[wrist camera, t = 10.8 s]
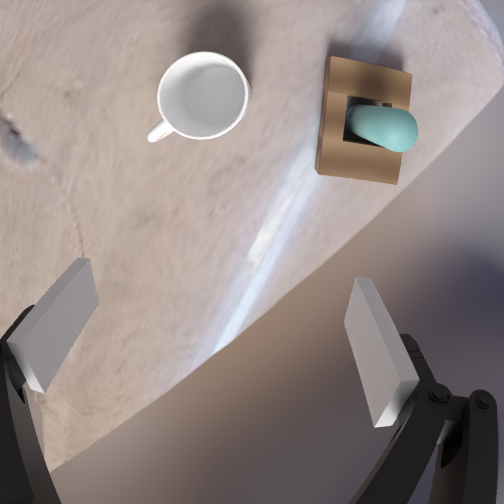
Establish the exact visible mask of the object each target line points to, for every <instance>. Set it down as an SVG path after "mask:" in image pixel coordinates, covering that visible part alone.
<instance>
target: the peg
mask: <svg viewBox="0 0 504 504" xmlns="http://www.w3.org/2000/svg"><path fill="white" fill-rule="evenodd" d="M345 124H346V126H347V128H348V130H349V131H350V132H352V133H353V134H355V135H357V136H360V137H362V138H365V139H367V140H369V141H371V142H374V143H376V144H378V145H380V146H383V147H385V148H387V149H389V150H392V151H394V152H404V151H406V150H408V149H410V148H411V147H412V146H413V145H414V143H415V142H416V139H417V136H418V127H417V123H416V121H415V119H414V117H413V116H412V115H411V114H410V113H409V112H407V111H405V110H403V109H398V108H390V107H382V106H373V105H363V104H357V105H353V106H352V107H350V108H349V109H348V110H347V112H346V115H345Z"/></svg>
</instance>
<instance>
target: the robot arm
mask: <svg viewBox="0 0 504 504" xmlns="http://www.w3.org/2000/svg"><path fill="white" fill-rule="evenodd" d="M98 304H99V301H98V297H97V292H96V287H95V283H94V278H93V273H92V267H91V262H90V259H85V258H77V259H76V260H75V261H74V262H73V263H72V264H71V265H70V267H69V268H68V269H67V270H66V271H65V272H64V273H63V274H62V275H61V276H60V277H59V279H58V280H57V281H56V282H55V283H54V284H53V285H52V286H51V287H50V289H49V290H48V291H47V292H46V293H45V294H44V295H43V297H42V298H41V299H40V300H39V301H38V302H37V304H36V305H31V306H30V307H28V308H27V309H25V310H24V311H23V312H22V313H21V314H20V316H19V317H18V319H16V320H15V322H14V324H12V325H11V326H10V328H9V329H8V330H7V331H6V333H5V334H4V335H3V336H2V338H1V339H0V504H61V501H60V499H59V497H58V495H57V492H56V489H55V487H54V484H53V482H52V479H51V477H50V474H49V471H48V469H47V466H46V463H45V460H44V457H43V454H42V451H41V448H40V445H39V442H38V438H37V435H36V432H35V428H34V424H33V421H32V417H31V413H30V409H29V405H28V400H27V396H26V392H25V389H24V387H23V384H24V383H25V381H27V383H28V384H29V386H30V388H31V389H32V390H35V391H38V392H41V393H44V394H45V392H46V391H47V389H48V387H49V385H50V383H51V382H52V380H53V378H54V376H55V374H56V373H57V371H58V369H59V367H60V366H61V364H62V362H63V361H64V359H65V357H66V356H67V354H68V352H69V351H70V349H71V347H72V346H73V344H74V342H75V341H76V339H77V337H78V336H79V334H80V333H81V331H82V329H83V328H84V326H85V325H86V323H87V321H88V320H89V318H90V317H91V315H92V314H93V312H94V311H95V309H96V307H97V306H98ZM344 325H345V328H346V330H347V334H348V337H349V341H350V344H351V347H352V350H353V354H354V357H355V360H356V363H357V367H358V370H359V374H360V377H361V381H362V384H363V388H364V391H365V395H366V398H367V402H368V406H369V410H370V413H371V417H372V421H373V424H374V427H383V426H390V425H392V424H393V423H394V421H395V420H396V418H397V417H398V420H399V423H400V425H399V427H398V428H397V430H396V431H395V433H394V434H393V435H392V437H391V440H390V442H389V444H388V445H387V447H386V449H385V450H384V452H383V453H382V455H381V457H380V458H379V460H378V461H377V463H376V465H375V466H374V467H373V469H372V471H371V472H370V473H369V475H368V476H367V478H366V479H365V481H364V482H363V484H362V485H361V487H360V488H359V489H358V491H357V492H356V493H355V495H354V496H353V498H352V499H351V500H350V502H349V503H348V504H407V503H408V501H409V499H410V497H411V495H412V493H413V492H414V490H415V488H416V486H417V484H418V482H419V480H420V478H421V476H422V474H423V472H424V470H425V468H426V466H427V464H428V462H429V460H430V457H431V455H432V453H433V451H434V448H435V446H436V444H439V446H438V453H437V460H436V466H435V472H434V477H433V482H432V487H431V492H430V497H429V501H428V504H496V493H497V478H498V421H497V420H498V419H497V404H496V401H495V399H494V397H493V396H492V395H491V394H490V393H489V392H487V391H485V390H475V391H473V392H472V394H471V395H470V396H469V398H466V397H459V396H453V395H452V393H451V392H450V390H449V389H448V388H447V387H445V386H444V385H442V384H439V383H436V381H435V378H434V376H433V374H432V372H431V370H430V368H429V366H428V364H427V362H426V360H425V359H424V356H423V354H422V352H420V348H419V346H418V344H417V342H416V341H415V340H414V339H413V338H412V337H411V336H410V335H409V334H398V332H397V330H396V328H395V326H394V323H393V321H392V319H391V317H390V315H389V313H388V311H387V309H386V307H385V306H384V303H383V302H382V300H381V298H380V296H379V294H378V292H377V290H376V288H375V286H374V284H373V283H372V281H371V279H370V278H362V277H356V278H355V282H354V286H353V290H352V294H351V298H350V302H349V305H348V309H347V312H346V316H345V320H344Z"/></svg>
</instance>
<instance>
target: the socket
mask: <svg viewBox="0 0 504 504" xmlns="http://www.w3.org/2000/svg"><path fill="white" fill-rule="evenodd" d="M411 83H412V74H410V73H406V72H403V71H399V70H395V69H391V68H387V67H383V66H379V65H375V64H370V63H366V62H361V61H356V60H351V59H346V58H340V57H334V56H330V57H328V58H327V59H326V64H325V76H324V87H323V98H322V108H321V118H320V128H319V137H318V146H317V155H316V163H315V170H316V171H317V173H318V174H319V175H328V176H337V177H345V178H353V179H360V180H367V181H374V182H381V183H388V184H394V185H397V182H398V176H399V171H400V165H401V159H402V153H403V152H394V151H392V150H389V149H387V148H385V147H383V146H380V145H378V144H372V143H366V142H360V141H354V140H347V139H343V132H344V124H345V115H346V106H347V96H351V97H357V98H362V99H367V100H372V101H377V102H382V103H383V107H390V108H398V109H403V110H405V111H407V112H408V111H409V102H410V93H411Z"/></svg>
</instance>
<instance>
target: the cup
mask: <svg viewBox="0 0 504 504" xmlns="http://www.w3.org/2000/svg"><path fill="white" fill-rule="evenodd" d="M250 101H251V90H250V85H249V83H248V80H247V79H246V77H245V75H244V74H243V72H242V71H241V69H240V68H239V67H238V65H237V64H236V63H234V62H233V61H232V60H231V59H229V58H228V57H226V56H224V55H221V54H218V53H215V52H206V51H203V52H195V53H191V54H188V55H185V56H183V57H181V58H180V59H178V60H177V61H175V62H174V63H173V64H172V65H171V66H170V67H169V68H168V69H167V70H166V72H165V73H164V75H163V76H162V78H161V81H160V83H159V87H158V93H157V102H158V107H159V111H160V113H161V115H162V117H163V119H162V120H161V121H160V122H159V123H157V124H156V125H155V126H154V127H153V128H152V129H151V130H150V131H149V132H148V134H147V139H148V141H150V142H156V141H158V140H160V139H162V138H163V137H165V136H167V135H168V134H170V133H171V132H173V131H176V132H177V133H179V134H181V135H183V136H185V137H188V138H193V139H209V138H214V137H217V136H220V135H222V134H224V133H226V132H227V131H229V130H230V129H231V128H233V127H234V126H235V125H236V124H237V123H238V122H239V121H240V120H241V119H242V117H243V116H244V115H245V113H246V112H247V110H248V108H249V105H250Z"/></svg>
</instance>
